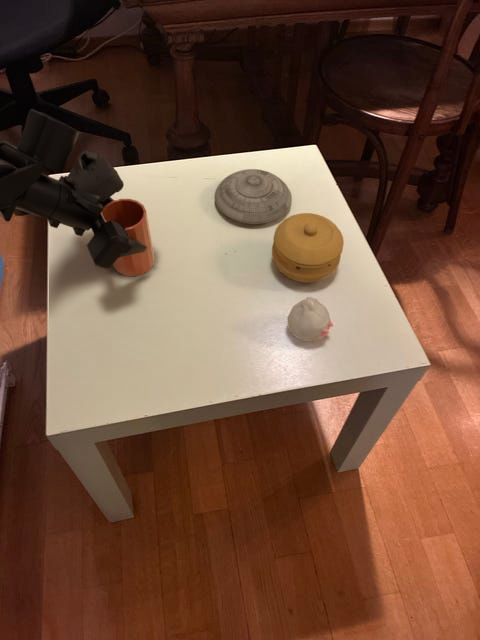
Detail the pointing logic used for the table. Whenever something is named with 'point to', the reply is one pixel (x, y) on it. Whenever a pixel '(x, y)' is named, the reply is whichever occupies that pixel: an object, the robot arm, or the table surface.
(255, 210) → the flying saucer
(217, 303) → the table surface
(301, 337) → the figurine
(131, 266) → the tumbler
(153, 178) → the table surface
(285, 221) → the pot
